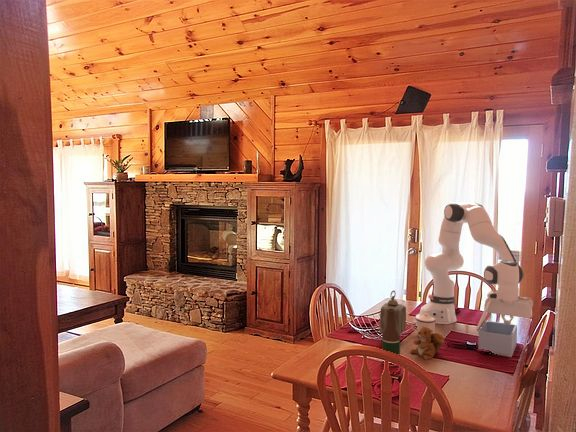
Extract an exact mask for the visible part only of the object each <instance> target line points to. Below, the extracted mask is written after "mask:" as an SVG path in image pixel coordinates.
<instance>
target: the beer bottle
mask: <svg viewBox="0 0 576 432" xmlns="http://www.w3.org/2000/svg"><path fill="white" fill-rule="evenodd" d="M387 313H388V314H387V325H386V328H385V329H384V331H383V334H382V341H381V342H382V344H381V345H382V347H381V348H382V349H383V350H386V351H390V352H393V353H396V354H399V355H400V354H401V352H400V351H401V349H400V347H401V345H400V344H401V340H400V335H399V333H398V330H397V329H396V326H395V309H387ZM382 349H381V350H382ZM381 361H382V360H381ZM383 363H384V361H382V364H383ZM389 365H394V364H392V363H389Z"/></svg>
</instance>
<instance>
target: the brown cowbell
mask: <svg viewBox="0 0 576 432" xmlns="http://www.w3.org/2000/svg"><path fill="white" fill-rule="evenodd" d="M393 293H394V295H393ZM389 296H390V299H389V300H388V301H387V302H386V303H384V304H383V305H382V306H381V307H380V310H379V311H380V312H379V330H380V331H379V332H380V334H382V335H383V331H384V329H385V328H386V325H387V314H388V313H387V309H395V326H396V329H397V330H398V333H399V336H400V335H402V333H404V331H406V326H407V308H406V307H407V306H405V305H403V304H401V303H398V300H396V299H395V298H396V290H394V289H393V290H392V291H391V292H390V295H389Z"/></svg>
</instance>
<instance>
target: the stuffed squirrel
mask: <svg viewBox="0 0 576 432" xmlns="http://www.w3.org/2000/svg"><path fill="white" fill-rule="evenodd" d="M432 332H433V330H430V329H429V328H427V327H424V326H422V328H421V330H420V331H419V332H418V334H417V333H416V336H418V335H419V336H418V337H419V338H417V339H414V341H413V344H414V346H415V345H416V346H417V347H416V348H412V349H411V350H410V353H411V354H414V355H415V354H416V355H419V356H421V357H423V359H424V360H430V359H433V358H434V357H435V355H436V354H438V353H440V350H441V347H442V345H443V344H445V339H446V337H444V336H443V334H441V333H439V332H435V333H432ZM431 333H432V334H431Z"/></svg>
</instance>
